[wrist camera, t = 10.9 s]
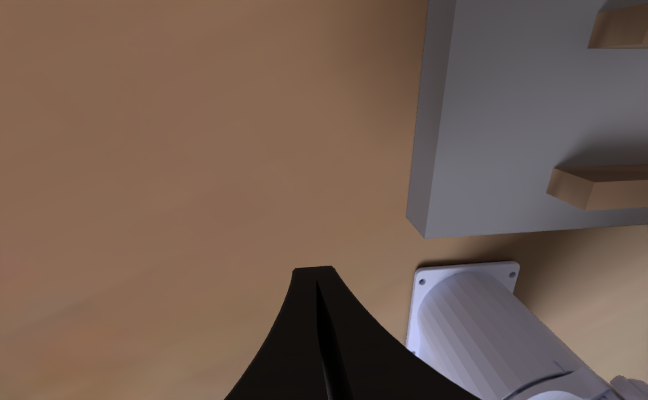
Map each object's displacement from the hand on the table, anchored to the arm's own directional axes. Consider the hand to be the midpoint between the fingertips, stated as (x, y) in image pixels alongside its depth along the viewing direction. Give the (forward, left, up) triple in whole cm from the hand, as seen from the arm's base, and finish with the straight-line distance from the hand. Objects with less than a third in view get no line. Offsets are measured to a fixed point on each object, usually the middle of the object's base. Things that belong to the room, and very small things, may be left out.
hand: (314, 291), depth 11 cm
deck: (+5, -22, -9) cm, 24 cm away
